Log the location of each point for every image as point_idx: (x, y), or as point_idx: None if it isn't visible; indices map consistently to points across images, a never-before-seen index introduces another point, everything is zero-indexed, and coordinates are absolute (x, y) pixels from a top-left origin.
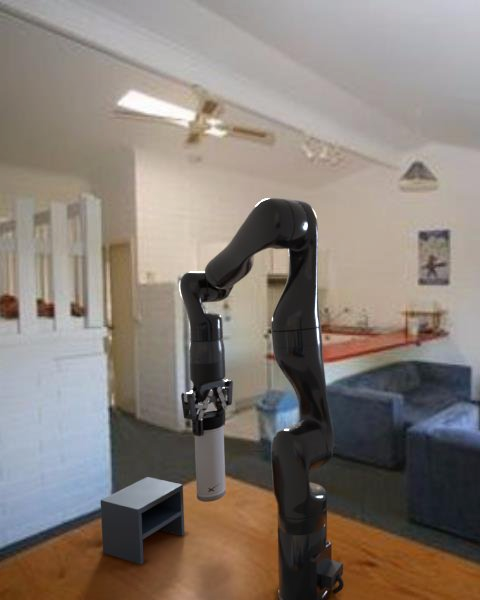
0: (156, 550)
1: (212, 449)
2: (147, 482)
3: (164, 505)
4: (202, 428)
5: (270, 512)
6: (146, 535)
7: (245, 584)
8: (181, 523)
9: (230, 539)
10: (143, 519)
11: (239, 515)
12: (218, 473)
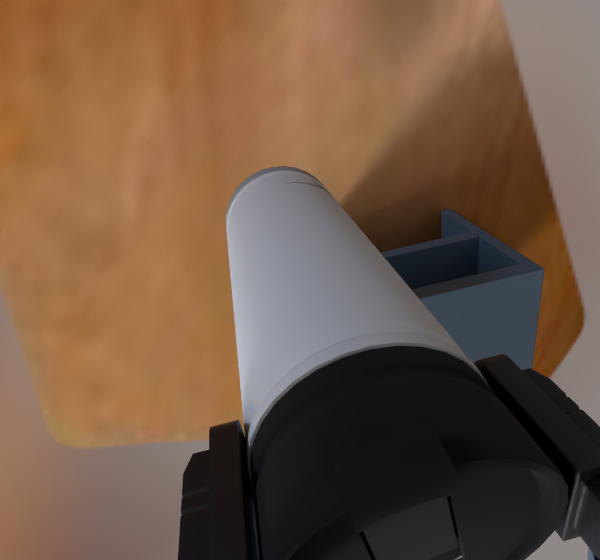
0: (394, 230)
1: (378, 263)
2: None
3: None
4: (524, 394)
5: (57, 110)
6: (462, 235)
7: None
8: None
9: (258, 96)
10: None
11: (149, 191)
12: (306, 198)
